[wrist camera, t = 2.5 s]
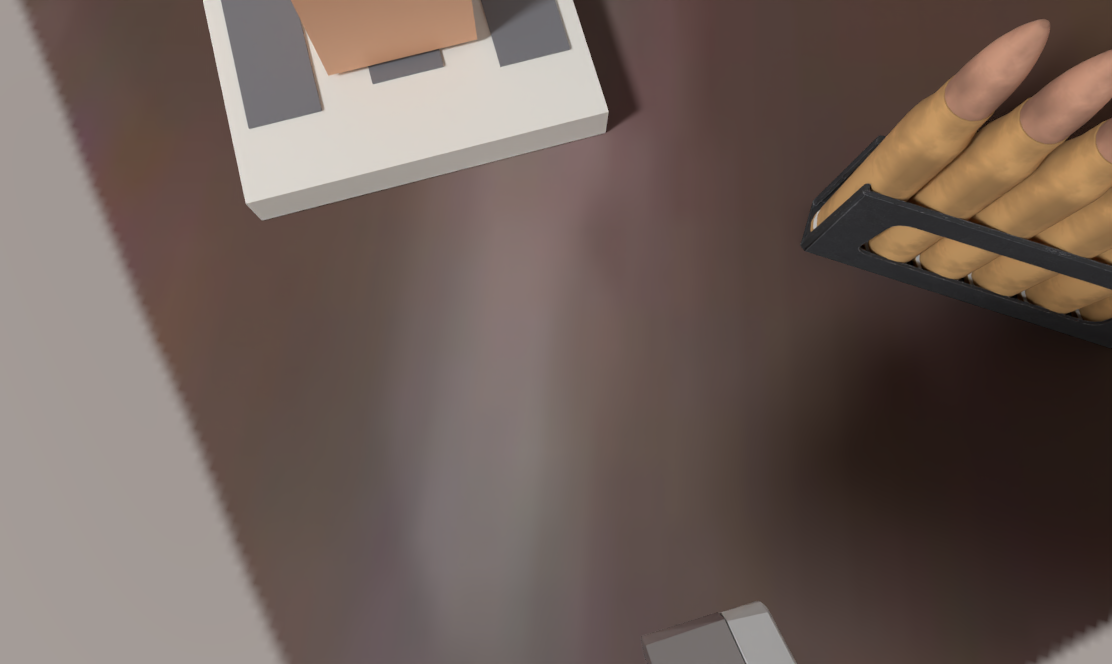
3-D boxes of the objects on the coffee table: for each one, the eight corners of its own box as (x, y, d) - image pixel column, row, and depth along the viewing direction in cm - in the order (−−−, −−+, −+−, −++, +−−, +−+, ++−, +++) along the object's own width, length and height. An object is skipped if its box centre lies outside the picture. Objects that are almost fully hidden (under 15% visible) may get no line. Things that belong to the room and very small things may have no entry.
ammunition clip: (798, 249, 27) (988, 48, 16) (812, 199, 28) (1007, -32, 16) (1113, 349, 27) (1558, 219, 15) (1123, 297, 27) (1564, 131, 15)
